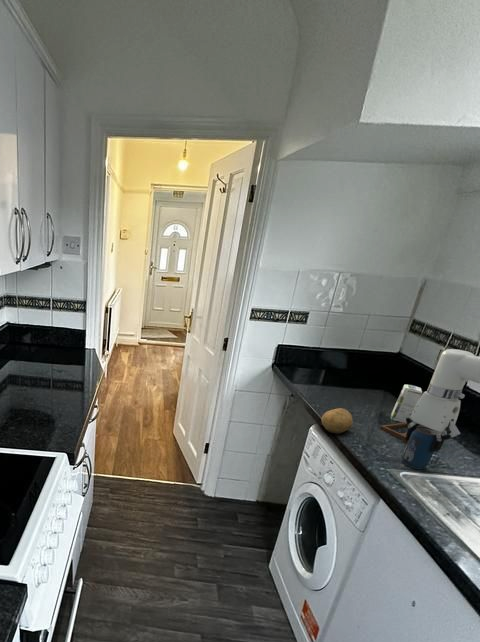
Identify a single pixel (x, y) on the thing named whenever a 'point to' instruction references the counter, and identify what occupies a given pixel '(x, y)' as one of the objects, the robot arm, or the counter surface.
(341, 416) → the potato
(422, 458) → the soda can
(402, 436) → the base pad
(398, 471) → the counter surface
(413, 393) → the syrup box
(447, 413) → the robot arm
